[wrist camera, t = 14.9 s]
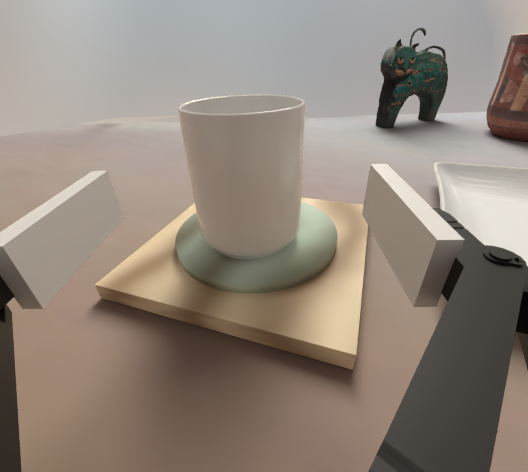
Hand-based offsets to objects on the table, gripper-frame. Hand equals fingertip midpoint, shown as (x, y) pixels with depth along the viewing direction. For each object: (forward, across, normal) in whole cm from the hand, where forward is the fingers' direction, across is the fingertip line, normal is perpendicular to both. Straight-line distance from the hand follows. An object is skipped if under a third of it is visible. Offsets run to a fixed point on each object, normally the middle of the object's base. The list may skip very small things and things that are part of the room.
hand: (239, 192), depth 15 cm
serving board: (+10, 0, -10) cm, 14 cm away
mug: (+10, 0, -8) cm, 13 cm away
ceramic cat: (+66, +36, -11) cm, 75 cm away
